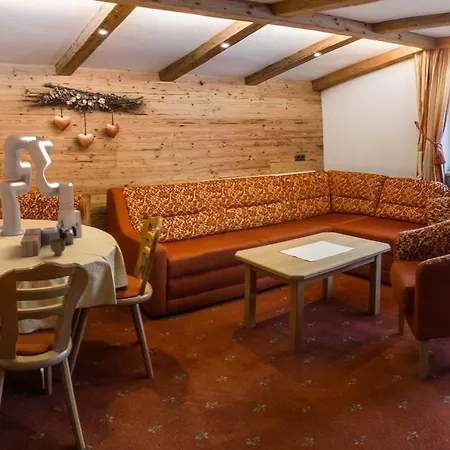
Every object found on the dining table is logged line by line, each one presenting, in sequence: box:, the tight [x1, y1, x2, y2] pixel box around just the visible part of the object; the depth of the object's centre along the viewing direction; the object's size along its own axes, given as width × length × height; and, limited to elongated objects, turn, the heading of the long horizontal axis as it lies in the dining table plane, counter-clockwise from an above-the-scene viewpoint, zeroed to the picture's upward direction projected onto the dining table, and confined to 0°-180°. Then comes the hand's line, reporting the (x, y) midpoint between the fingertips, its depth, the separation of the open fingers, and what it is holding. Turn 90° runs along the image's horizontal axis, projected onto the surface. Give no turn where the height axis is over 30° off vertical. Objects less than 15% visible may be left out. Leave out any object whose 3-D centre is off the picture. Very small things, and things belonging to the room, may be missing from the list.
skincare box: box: [67, 209, 83, 239], centre depth 291 cm, size 8×6×15 cm
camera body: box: [41, 226, 60, 246], centre depth 276 cm, size 9×12×8 cm
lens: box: [64, 228, 74, 246], centre depth 272 cm, size 6×5×8 cm
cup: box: [49, 238, 66, 257], centre depth 249 cm, size 8×7×8 cm
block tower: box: [20, 227, 42, 257], centre depth 259 cm, size 8×8×29 cm
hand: (68, 237), depth 272 cm, fingers open, 9 cm apart
